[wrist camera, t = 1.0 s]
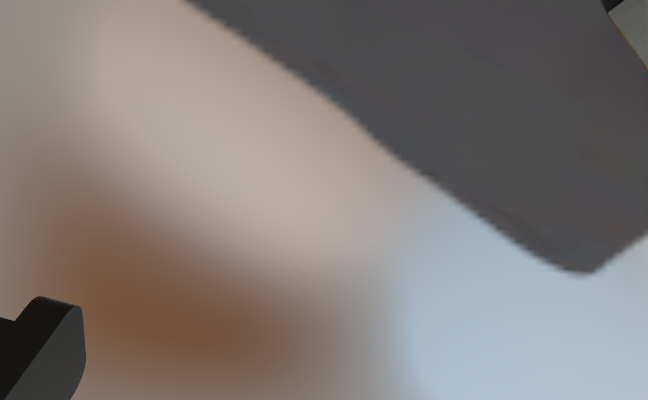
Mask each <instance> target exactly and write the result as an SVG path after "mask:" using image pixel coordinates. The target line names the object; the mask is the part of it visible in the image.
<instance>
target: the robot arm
mask: <svg viewBox="0 0 648 400" xmlns="http://www.w3.org/2000/svg"><path fill="white" fill-rule="evenodd" d="M85 363H86V352H85V339H84V327H83V315H82V309H81V308H80V307H79V306H77V305H73V304H69V303H65V302H61V301H57V300H54V299H50V298H46V297H42V296H39V297H36V298H34V299H33V300H32V301H31V302H30V303H29V304H28V305H27V307H26V308H25V309H24V310H23V311H22V313H21V314H20V315H19V317H18V318H17V319H16V320H15V321H12V320H8V319H4V318H1V317H0V400H70V399H71V397H72V396H73V394H74V392H75V391H76V389H77V387H78V385H79V383H80V380H81V378H82V375H83V372H84V368H85Z"/></svg>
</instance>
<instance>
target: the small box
mask: <svg viewBox="0 0 648 400" xmlns="http://www.w3.org/2000/svg"><path fill="white" fill-rule="evenodd" d="M608 16H609V18H610V19H611V21H612V22H613V24H614V25H615V27H616V28H617V29H618V31H619V32H620V33H621V35H622V36H623V37H624V39H625V40H626V41H627V43H628V45H629V46H630V47H631V48H632V50H633V51H634V52H635V54H636V55H637V57H638V58H639V60H640V61H641V63H642V64H643V65H644V67H645V68H646V70H647V71H648V0H624V1H623V2H622V3H620V4H619V5H617V6H616V7H615V8H613V9H612V10H611V11H609V12H608Z"/></svg>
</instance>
